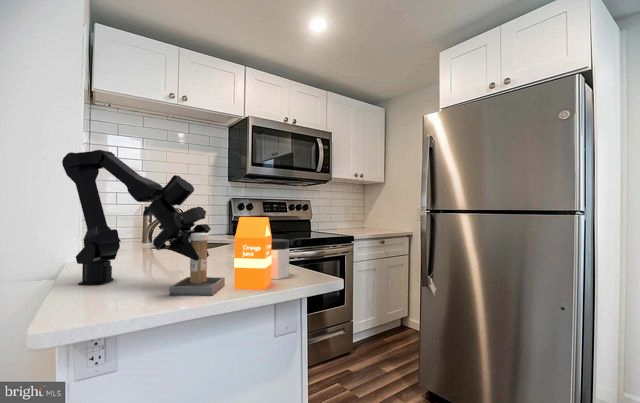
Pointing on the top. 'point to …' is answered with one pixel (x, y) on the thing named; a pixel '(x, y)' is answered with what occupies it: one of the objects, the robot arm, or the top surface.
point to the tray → (197, 287)
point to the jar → (279, 258)
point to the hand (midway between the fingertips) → (203, 258)
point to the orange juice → (252, 253)
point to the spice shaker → (200, 266)
